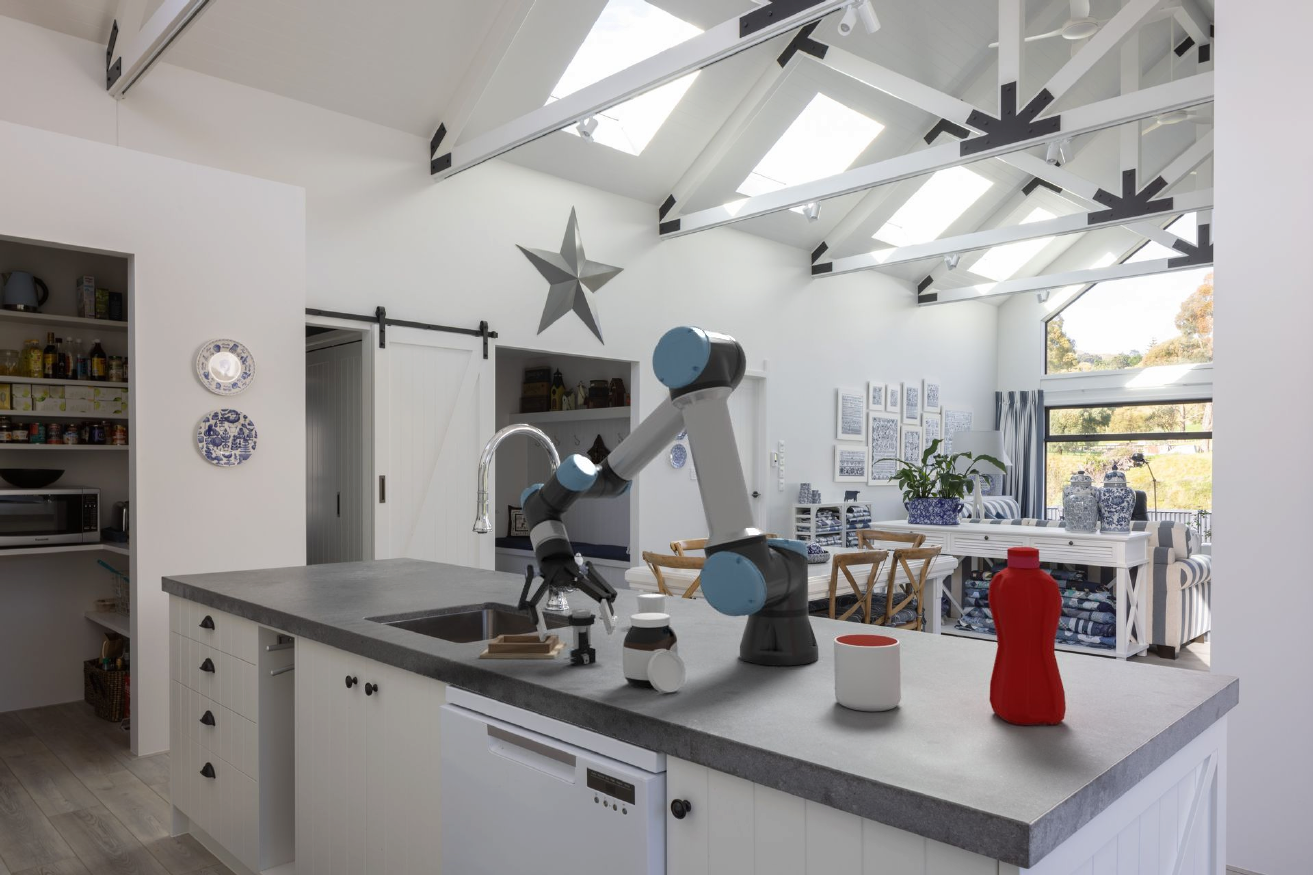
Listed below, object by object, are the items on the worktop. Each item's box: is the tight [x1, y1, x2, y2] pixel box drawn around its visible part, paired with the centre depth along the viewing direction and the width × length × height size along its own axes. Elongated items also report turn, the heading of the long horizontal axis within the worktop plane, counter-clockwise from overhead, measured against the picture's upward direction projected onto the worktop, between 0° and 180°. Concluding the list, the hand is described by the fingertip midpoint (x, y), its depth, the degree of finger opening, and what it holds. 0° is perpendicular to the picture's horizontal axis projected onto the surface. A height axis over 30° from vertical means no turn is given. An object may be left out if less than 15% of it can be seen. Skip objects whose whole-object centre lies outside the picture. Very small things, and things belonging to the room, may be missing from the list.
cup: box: [833, 633, 902, 712], centre depth 137 cm, size 10×10×10 cm
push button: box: [564, 608, 597, 667], centre depth 167 cm, size 7×5×10 cm
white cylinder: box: [636, 592, 667, 614], centre depth 206 cm, size 7×7×7 cm
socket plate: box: [478, 634, 567, 659], centre depth 179 cm, size 13×15×2 cm
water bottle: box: [987, 546, 1067, 726], centre depth 130 cm, size 9×11×25 cm
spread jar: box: [622, 613, 687, 694], centre depth 150 cm, size 12×11×12 cm
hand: (578, 633), depth 167 cm, fingers open, 13 cm apart
